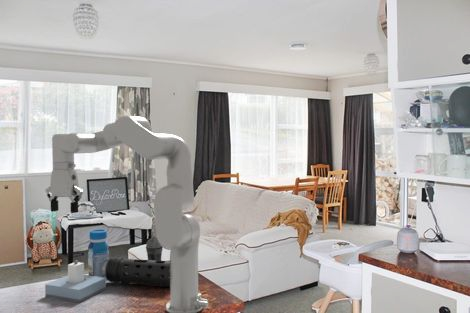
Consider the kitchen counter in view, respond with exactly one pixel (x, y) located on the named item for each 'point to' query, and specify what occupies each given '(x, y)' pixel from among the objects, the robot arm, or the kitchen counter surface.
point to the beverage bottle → (97, 252)
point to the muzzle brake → (137, 271)
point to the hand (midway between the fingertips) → (64, 211)
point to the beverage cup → (154, 249)
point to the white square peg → (75, 272)
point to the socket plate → (75, 288)
